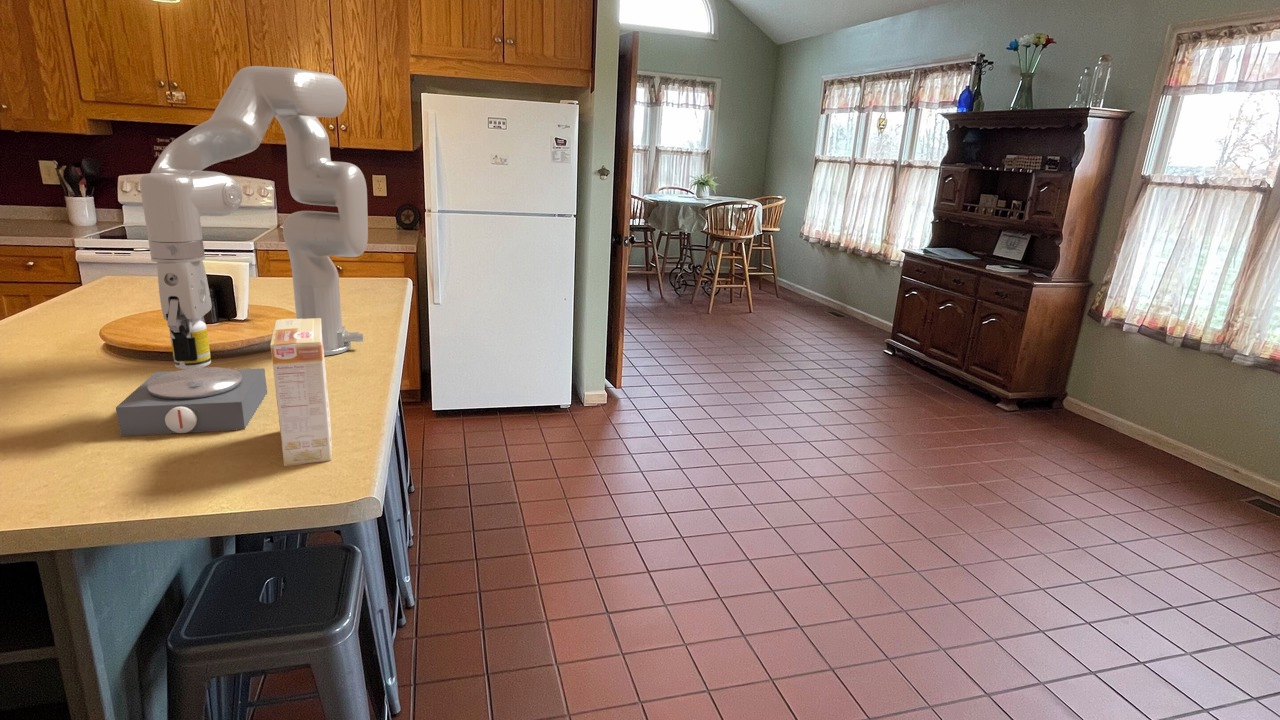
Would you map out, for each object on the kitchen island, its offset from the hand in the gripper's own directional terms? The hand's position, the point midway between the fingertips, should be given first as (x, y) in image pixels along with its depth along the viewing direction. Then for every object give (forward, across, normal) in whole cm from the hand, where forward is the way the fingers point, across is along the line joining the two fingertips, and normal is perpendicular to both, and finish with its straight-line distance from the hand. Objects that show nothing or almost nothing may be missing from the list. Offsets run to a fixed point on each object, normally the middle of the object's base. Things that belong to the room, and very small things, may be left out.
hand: (192, 354), depth 121 cm
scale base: (+11, 0, 0) cm, 11 cm away
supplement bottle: (+2, 0, 0) cm, 2 cm away
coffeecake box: (+11, -17, -20) cm, 29 cm away
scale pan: (+6, 0, 0) cm, 6 cm away
